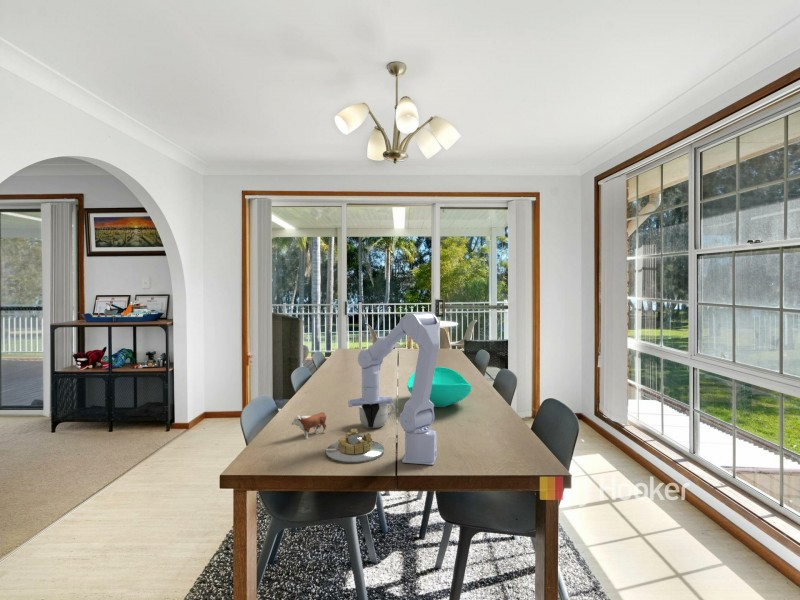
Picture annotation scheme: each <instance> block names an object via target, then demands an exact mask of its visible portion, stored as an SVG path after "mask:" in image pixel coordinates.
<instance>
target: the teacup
mask: <svg viewBox="0 0 800 600" xmlns="http://www.w3.org/2000/svg"><path fill="white" fill-rule="evenodd" d="M379 406H380V408H379V411H378V413H377V415H376V417H375V421H374V425H373V427H371V428H369V427H368V422H367V418H366V415H365V412H364V410H363V408H362V406H358V410H359V412H358V413H359V421H360V423H361V425H363V426H364V427H365V428H368V429H378V428H382V427H383V426H384V425H385V424H386V423H387V422H388V419H389V417H390V416H392V414H394V413H395V411H396V407H395V404H394V403H392V404H379ZM389 407H391V410H390V411H388V409H389Z"/></svg>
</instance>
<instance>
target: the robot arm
mask: <svg viewBox="0 0 800 600" xmlns="http://www.w3.org/2000/svg"><path fill="white" fill-rule="evenodd" d="M439 326H440V321H439V319H438V318H437V316H436V315H435V314H434V313H433V312H431V311H425V312H414V313H412V312H408V313H406V314H405V315H403V317H401V318H400V319H399V322H398V324H396V326H395V327H394V328H393V329H392V330H391V331H389V333H388V334H387V335H386V336H378V337H377V338H376V341H375V342H373V343H372V344H370V345H369V346H368V348H367V349H361V350H360V351H359V353H358V355H357V362H358V364H359V366H360V367H361V397H358V398H354V399H348V400H347V402H348V403H347V404H348V405H347V406H348V407H349V408H352V407H359V406H362V408H363V410H364V412H365V415H366V418H367V422H368V427H369V428H368V429H372V428H371V427H373V425H374V421H375V417H376V415H377V413H378V411H379V408H380V406H379V404H393V397H391V396H380V370H381V366H382V363H383V361H384V359H385V358H386V357H387V356H388V355H389V354H390V353H392V352H393V350H394V347H395V346H394V345H395V344H397V343H398V342H399V341H400V340H402V339H403V338H404V337H405V336H408V337H409V338H410V339H411V340H412V341H413V342H414V343H415V344H417V346H418V347H419V349H418V353H417V354H418V356H417V361H416V364H415V371H414V372H415V377H414V382H413V388H412V394H411V393H410V397H409V399H408V400H407V401H406V402H405V403H404V405H403V410H402V411H401V412H400V414H399V424H400V427H401V429H403V432H404V442H405V443H404V444H405V445H404V446H405V448H404V452H405V453H404V456H403V458H402V460H401V463H404V464H415V465H416V464H418V465H430V466H432V465H433V466H434V464H435V462H436V459H437V456H438V450H437V448H438V447H437V444H438V443H437V442H438V441H437V438H438V437H437V431H436V430H432V429H431V425H433V423H434V421H435V411H434V408H435V407H434V404H433V403H432V402H431V401H430V400H429V398H430V393H431V388H432V382H433V377H434V371H435V367H437V360H438V355H439V348H440V339H439Z"/></svg>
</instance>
